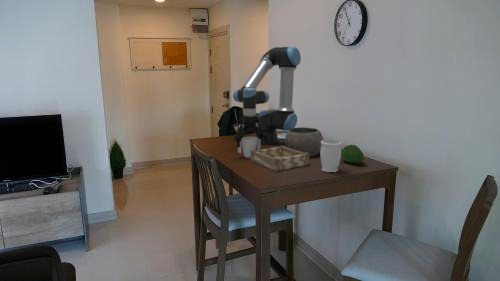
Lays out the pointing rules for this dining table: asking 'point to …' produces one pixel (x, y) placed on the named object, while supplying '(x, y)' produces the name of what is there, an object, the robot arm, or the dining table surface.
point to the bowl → (304, 140)
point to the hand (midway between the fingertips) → (249, 151)
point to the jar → (330, 155)
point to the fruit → (352, 154)
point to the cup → (249, 145)
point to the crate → (279, 158)
